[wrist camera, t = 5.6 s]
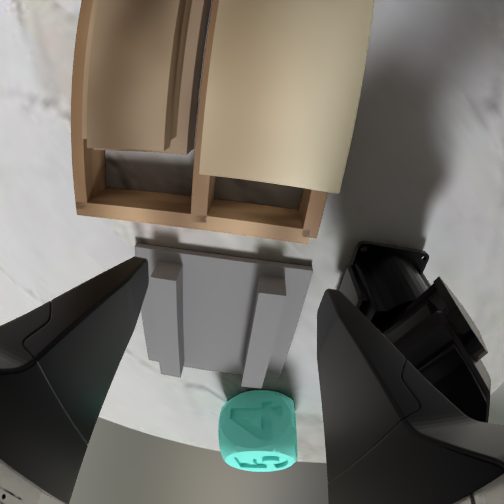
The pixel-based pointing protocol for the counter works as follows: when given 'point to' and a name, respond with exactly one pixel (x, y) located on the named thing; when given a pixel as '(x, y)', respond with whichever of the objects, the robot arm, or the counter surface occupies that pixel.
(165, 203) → the rack
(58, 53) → the counter surface
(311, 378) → the counter surface
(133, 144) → the offcut stack
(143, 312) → the holder
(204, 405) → the counter surface
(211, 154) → the pale wooden block
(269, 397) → the decorative dice
